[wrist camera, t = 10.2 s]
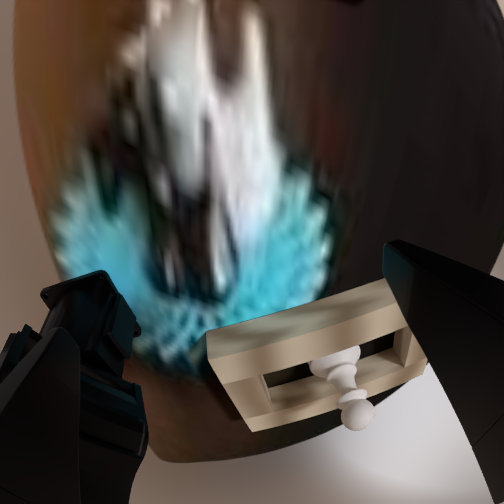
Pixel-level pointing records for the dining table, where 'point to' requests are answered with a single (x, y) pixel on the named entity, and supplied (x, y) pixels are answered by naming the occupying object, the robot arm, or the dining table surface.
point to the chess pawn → (346, 387)
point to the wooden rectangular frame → (312, 354)
